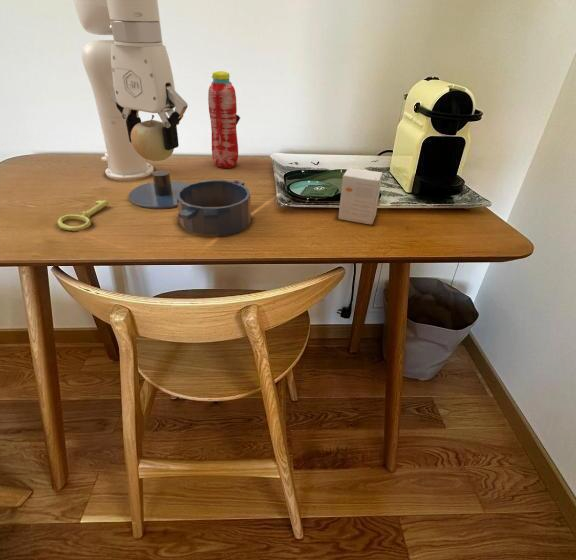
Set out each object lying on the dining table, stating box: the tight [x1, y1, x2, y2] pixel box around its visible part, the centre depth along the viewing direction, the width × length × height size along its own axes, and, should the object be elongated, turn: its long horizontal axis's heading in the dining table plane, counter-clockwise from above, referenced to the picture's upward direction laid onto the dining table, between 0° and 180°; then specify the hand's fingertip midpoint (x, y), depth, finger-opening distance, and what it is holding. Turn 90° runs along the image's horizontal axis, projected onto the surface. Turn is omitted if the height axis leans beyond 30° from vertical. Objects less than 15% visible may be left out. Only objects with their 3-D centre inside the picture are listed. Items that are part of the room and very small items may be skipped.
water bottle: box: [207, 70, 241, 169], centre depth 112 cm, size 12×8×25 cm, turn 167°
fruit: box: [131, 114, 175, 162], centre depth 74 cm, size 8×7×8 cm
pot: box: [177, 179, 252, 238], centre depth 86 cm, size 15×21×6 cm
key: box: [57, 199, 110, 232], centre depth 86 cm, size 7×12×2 cm, turn 177°
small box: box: [337, 167, 383, 225], centre depth 89 cm, size 8×6×10 cm
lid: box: [128, 169, 189, 210], centre depth 96 cm, size 16×16×6 cm
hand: (154, 144), depth 74 cm, fingers closed on fruit, 7 cm apart
